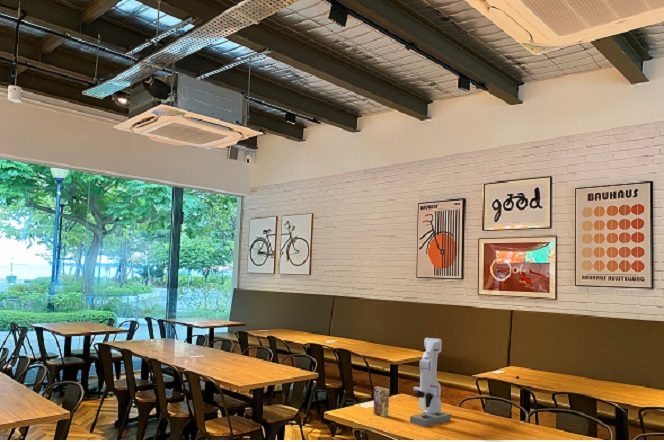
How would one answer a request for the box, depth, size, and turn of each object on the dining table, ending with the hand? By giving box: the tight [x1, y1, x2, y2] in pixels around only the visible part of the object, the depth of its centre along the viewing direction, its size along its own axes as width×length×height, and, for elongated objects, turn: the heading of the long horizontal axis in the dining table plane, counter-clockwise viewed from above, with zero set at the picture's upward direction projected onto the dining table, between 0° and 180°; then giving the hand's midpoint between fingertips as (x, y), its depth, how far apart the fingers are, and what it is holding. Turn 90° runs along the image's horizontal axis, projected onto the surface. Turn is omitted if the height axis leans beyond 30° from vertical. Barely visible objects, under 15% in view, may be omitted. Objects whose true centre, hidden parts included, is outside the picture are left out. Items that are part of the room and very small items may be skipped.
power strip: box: [409, 410, 452, 428], centre depth 290 cm, size 24×10×4 cm, turn 132°
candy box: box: [372, 386, 390, 418], centre depth 300 cm, size 9×4×15 cm, turn 39°
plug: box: [418, 396, 430, 411], centre depth 288 cm, size 5×4×7 cm
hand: (424, 406), depth 288 cm, fingers closed on plug, 4 cm apart
